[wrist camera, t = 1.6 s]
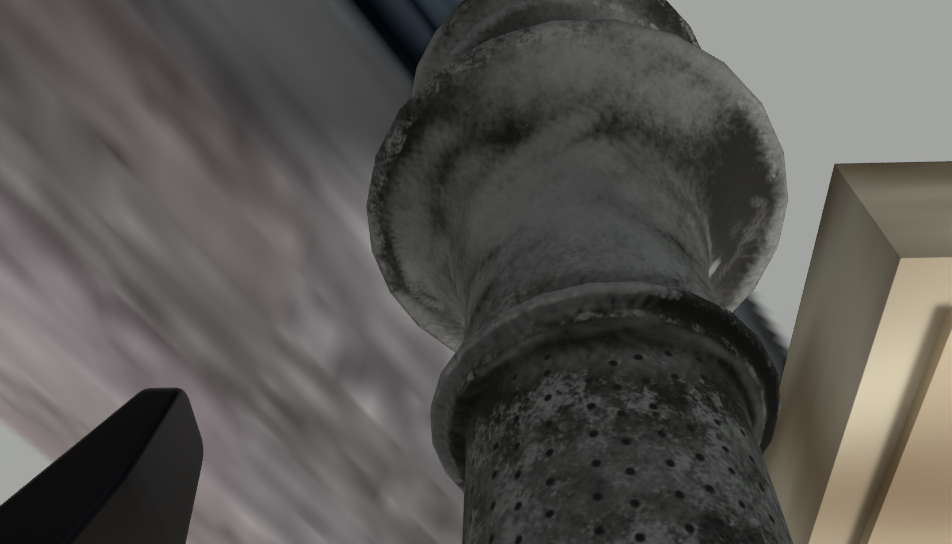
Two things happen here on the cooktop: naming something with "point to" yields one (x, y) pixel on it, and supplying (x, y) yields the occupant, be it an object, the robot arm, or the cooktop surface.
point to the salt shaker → (588, 273)
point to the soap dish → (872, 365)
